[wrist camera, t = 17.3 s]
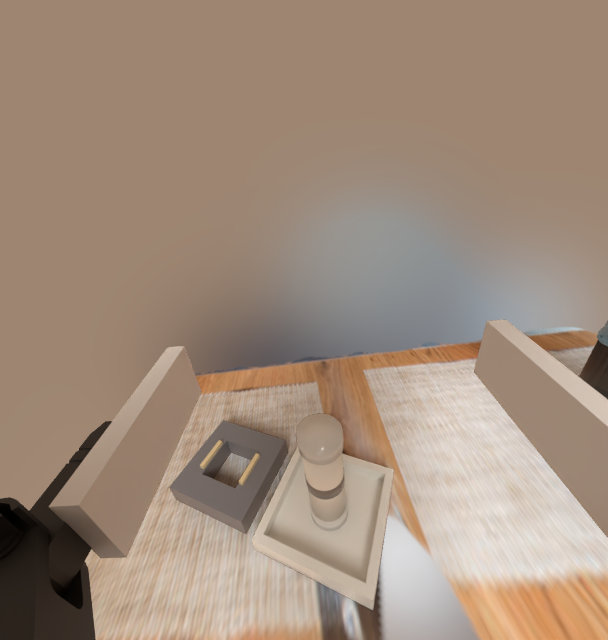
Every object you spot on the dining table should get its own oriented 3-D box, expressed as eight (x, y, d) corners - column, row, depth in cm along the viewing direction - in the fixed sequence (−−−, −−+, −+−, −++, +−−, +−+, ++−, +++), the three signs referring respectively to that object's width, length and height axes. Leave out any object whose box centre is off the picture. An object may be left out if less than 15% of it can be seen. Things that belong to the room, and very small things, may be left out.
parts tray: (301, 450, 44) (300, 440, 43) (393, 480, 39) (393, 469, 38) (255, 549, 33) (251, 540, 32) (373, 610, 28) (373, 601, 27)
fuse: (318, 485, 39) (306, 409, 31) (352, 498, 37) (348, 419, 29) (304, 521, 35) (287, 445, 27) (341, 538, 33) (334, 460, 26)
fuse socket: (227, 432, 49) (222, 417, 47) (287, 452, 44) (284, 437, 43) (176, 499, 40) (167, 484, 38) (246, 534, 35) (240, 519, 33)
